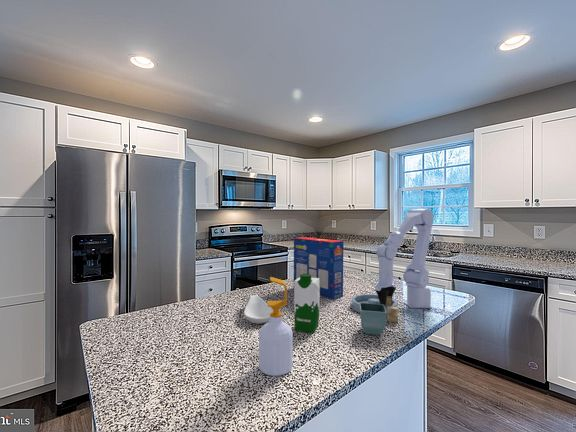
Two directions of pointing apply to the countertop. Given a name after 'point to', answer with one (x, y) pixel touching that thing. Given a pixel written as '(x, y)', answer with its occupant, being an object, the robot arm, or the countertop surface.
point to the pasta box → (320, 264)
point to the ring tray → (368, 301)
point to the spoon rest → (257, 310)
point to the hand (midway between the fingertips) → (385, 304)
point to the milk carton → (306, 303)
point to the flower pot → (373, 318)
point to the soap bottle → (276, 340)
